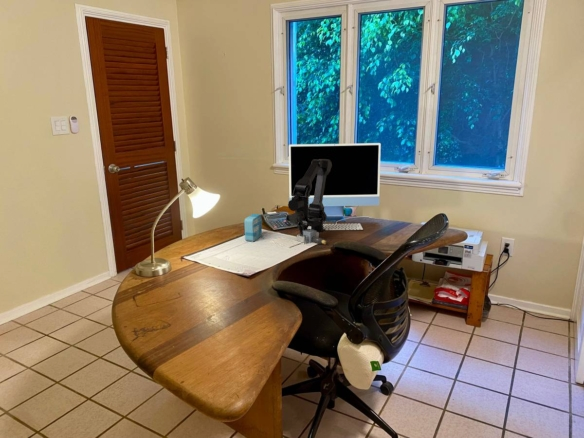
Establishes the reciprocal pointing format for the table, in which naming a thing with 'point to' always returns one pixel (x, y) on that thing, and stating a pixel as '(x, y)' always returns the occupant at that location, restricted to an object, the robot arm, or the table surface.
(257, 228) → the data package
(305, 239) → the housing
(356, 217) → the table surface
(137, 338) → the table surface
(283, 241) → the mat
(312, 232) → the plug
